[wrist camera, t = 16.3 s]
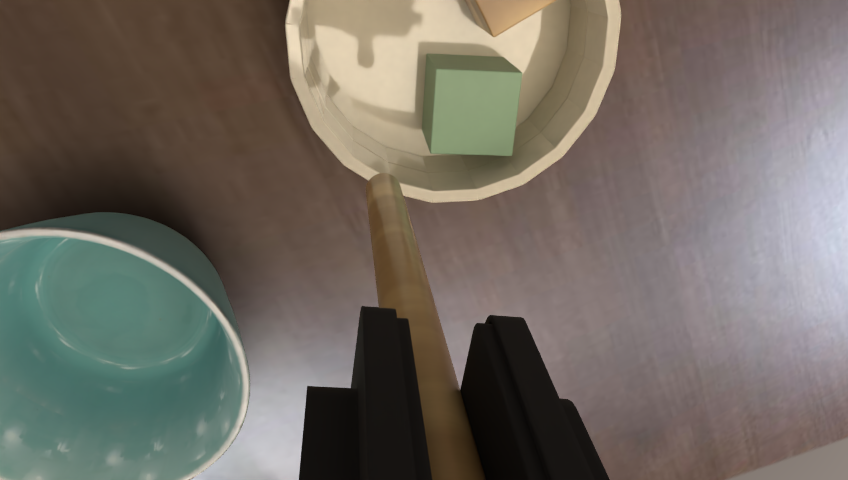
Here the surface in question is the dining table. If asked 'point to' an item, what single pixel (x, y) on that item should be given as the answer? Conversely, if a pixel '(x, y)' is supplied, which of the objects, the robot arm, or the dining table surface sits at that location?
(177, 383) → the bowl
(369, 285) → the dining table surface
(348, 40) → the stir bowl
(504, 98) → the sage block
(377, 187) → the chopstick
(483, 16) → the maple block
